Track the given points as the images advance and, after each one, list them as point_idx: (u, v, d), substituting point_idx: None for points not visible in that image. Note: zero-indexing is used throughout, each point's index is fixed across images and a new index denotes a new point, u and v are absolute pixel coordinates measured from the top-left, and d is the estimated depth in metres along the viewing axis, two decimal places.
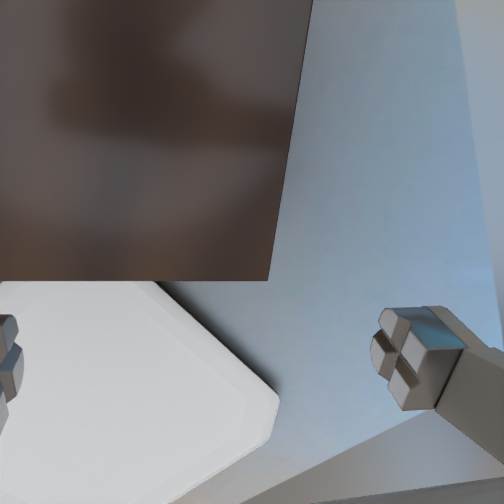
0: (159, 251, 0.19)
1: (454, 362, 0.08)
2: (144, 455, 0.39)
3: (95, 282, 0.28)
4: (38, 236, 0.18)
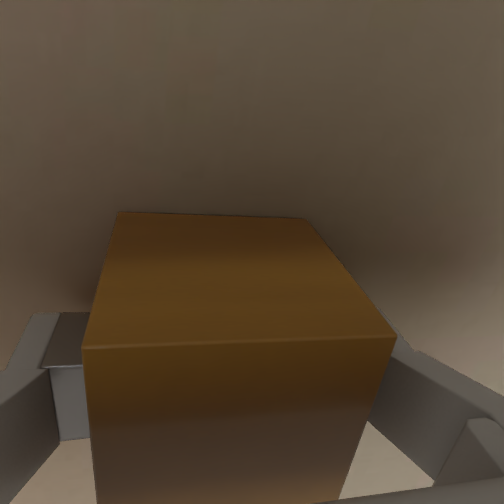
0: None
1: None
2: None
3: None
4: None
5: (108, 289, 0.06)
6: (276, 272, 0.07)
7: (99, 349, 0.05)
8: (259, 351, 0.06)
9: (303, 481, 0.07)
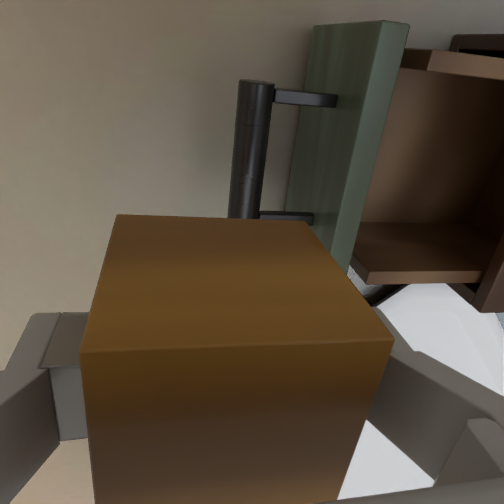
0: None
1: None
2: None
3: (445, 303, 0.32)
4: None
5: (106, 292, 0.06)
6: (274, 276, 0.07)
7: (97, 353, 0.05)
8: (256, 354, 0.06)
9: (301, 484, 0.07)
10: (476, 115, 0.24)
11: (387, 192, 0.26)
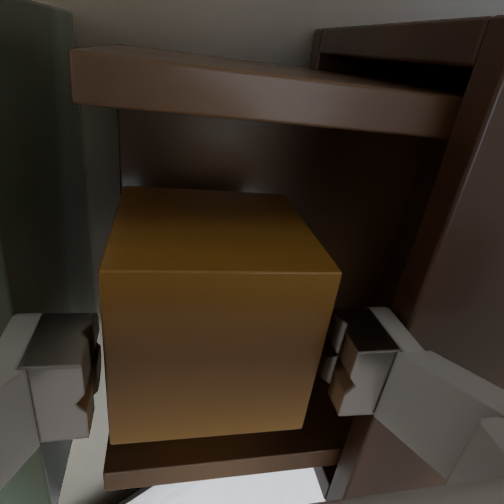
0: None
1: (388, 366, 0.08)
2: None
3: None
4: None
5: (117, 237, 0.08)
6: (252, 230, 0.09)
7: (111, 273, 0.07)
8: (232, 280, 0.07)
9: (273, 400, 0.09)
10: (356, 162, 0.15)
11: None
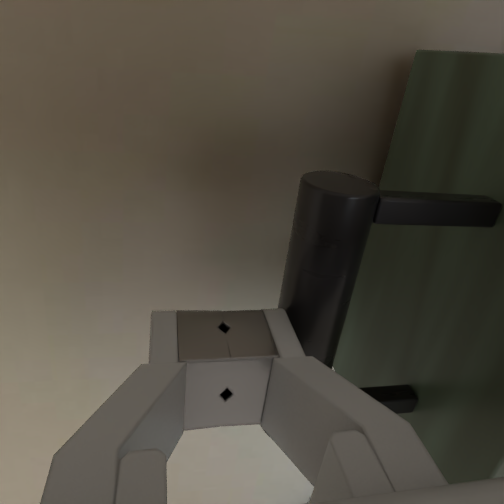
0: None
1: (266, 372, 0.07)
2: None
3: None
4: None
5: None
6: None
7: None
8: None
9: None
10: None
11: None
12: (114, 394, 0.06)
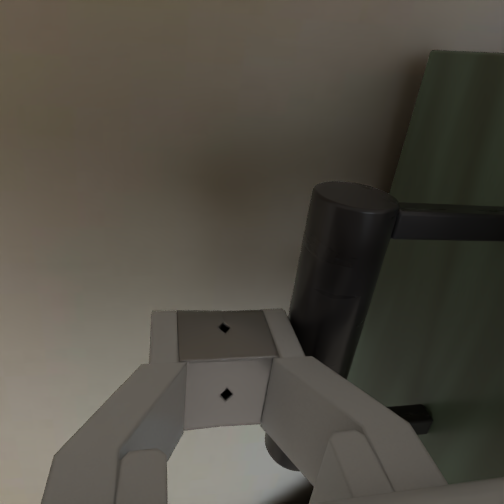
0: None
1: (266, 373, 0.07)
2: None
3: None
4: None
5: None
6: None
7: None
8: None
9: None
10: None
11: None
12: (114, 394, 0.06)
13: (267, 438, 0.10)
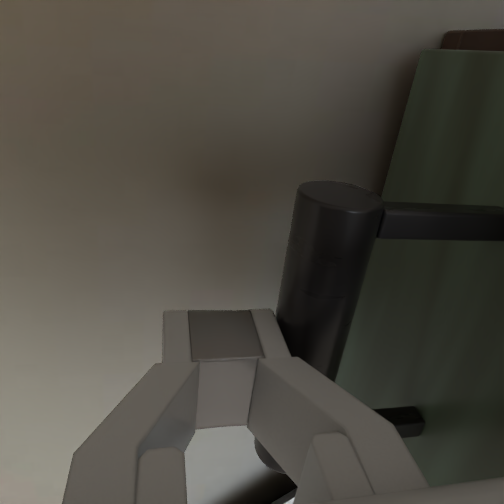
0: None
1: (251, 373, 0.07)
2: None
3: None
4: None
5: None
6: None
7: None
8: None
9: None
10: None
11: None
12: (130, 393, 0.06)
13: (256, 440, 0.10)
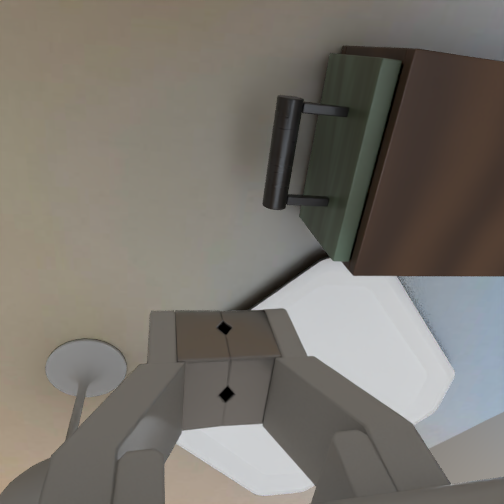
0: (485, 255, 0.27)
1: (268, 372, 0.07)
2: None
3: (357, 278, 0.36)
4: (421, 245, 0.26)
5: (385, 127, 0.26)
6: None
7: None
8: None
9: None
10: None
11: None
12: (112, 394, 0.06)
13: (263, 200, 0.26)
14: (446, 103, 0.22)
